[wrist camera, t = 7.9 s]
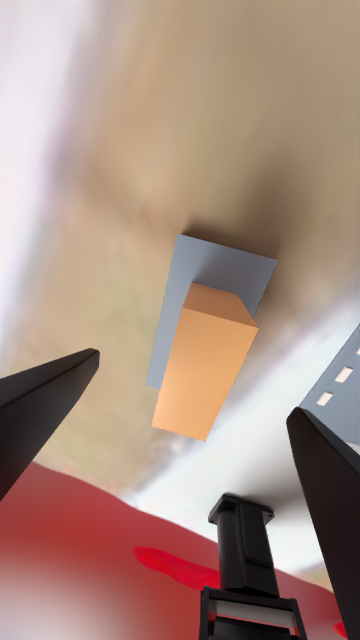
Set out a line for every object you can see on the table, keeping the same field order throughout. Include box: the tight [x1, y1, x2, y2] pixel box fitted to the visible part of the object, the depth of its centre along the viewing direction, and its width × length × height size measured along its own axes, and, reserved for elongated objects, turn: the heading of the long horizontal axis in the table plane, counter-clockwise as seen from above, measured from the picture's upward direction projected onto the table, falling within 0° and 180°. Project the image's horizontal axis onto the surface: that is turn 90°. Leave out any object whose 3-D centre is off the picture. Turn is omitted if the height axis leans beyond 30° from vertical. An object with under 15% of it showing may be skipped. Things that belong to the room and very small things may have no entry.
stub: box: [146, 234, 278, 441], centre depth 11 cm, size 12×6×6 cm, turn 166°
